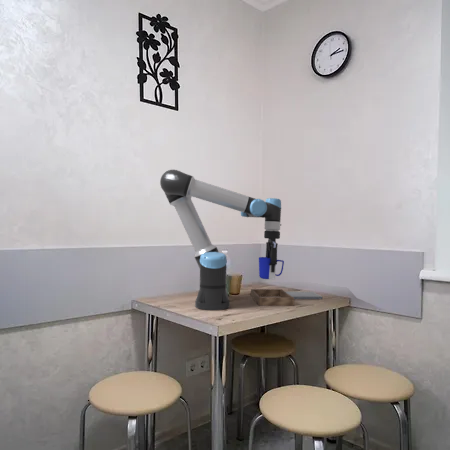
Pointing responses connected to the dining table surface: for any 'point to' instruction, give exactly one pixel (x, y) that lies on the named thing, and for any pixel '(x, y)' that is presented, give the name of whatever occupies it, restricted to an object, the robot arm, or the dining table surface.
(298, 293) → the board
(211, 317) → the dining table surface
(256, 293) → the crate
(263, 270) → the mug
